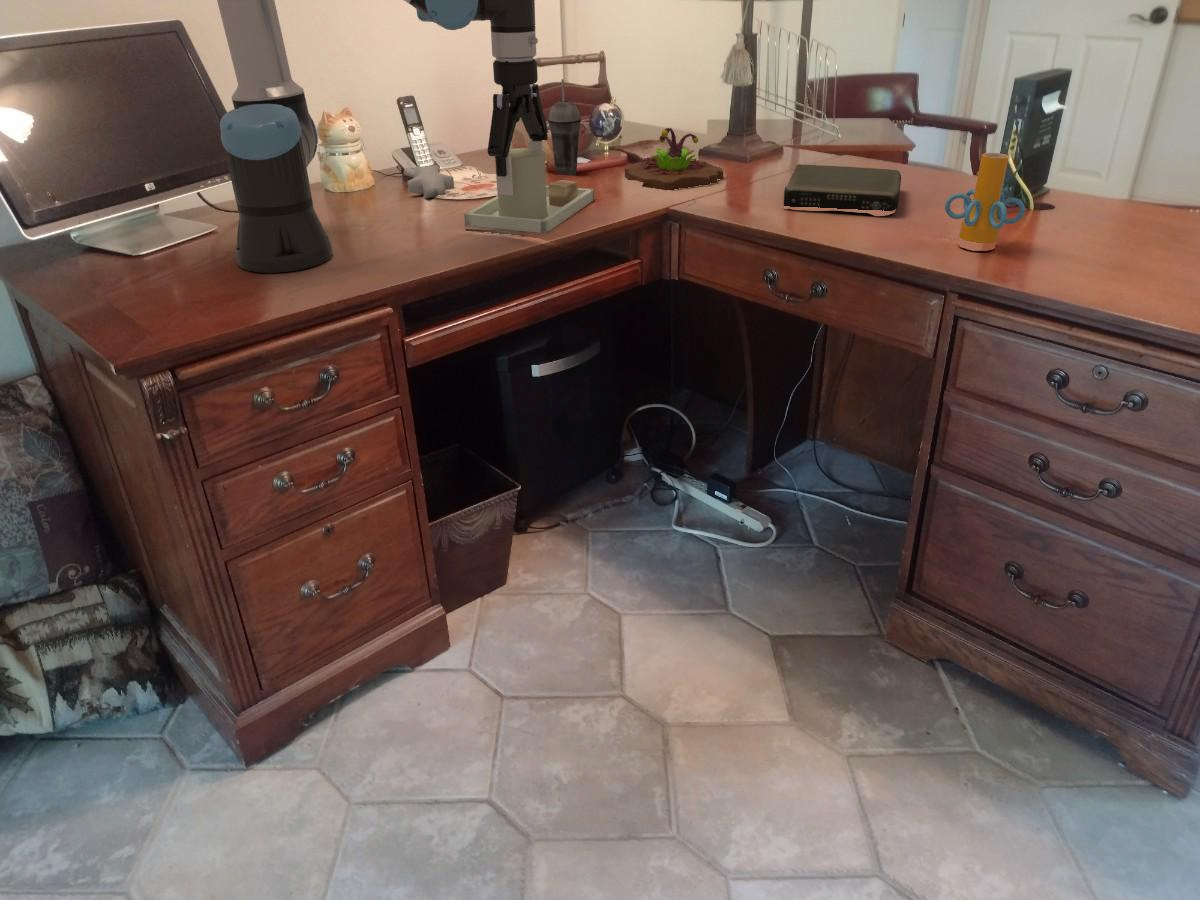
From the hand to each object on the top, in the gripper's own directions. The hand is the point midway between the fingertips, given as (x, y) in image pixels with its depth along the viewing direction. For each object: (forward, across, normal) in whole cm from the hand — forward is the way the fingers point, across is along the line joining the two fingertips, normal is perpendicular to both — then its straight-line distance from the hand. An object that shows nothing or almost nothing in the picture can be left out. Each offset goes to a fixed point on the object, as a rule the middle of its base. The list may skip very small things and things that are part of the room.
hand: (521, 185), depth 160 cm
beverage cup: (+7, +38, +7) cm, 39 cm away
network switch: (+7, +34, -54) cm, 64 cm away
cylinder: (+7, +10, -79) cm, 80 cm away
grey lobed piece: (+7, +15, +29) cm, 33 cm away
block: (+6, +11, -4) cm, 13 cm away
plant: (+7, +42, -16) cm, 45 cm away
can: (+6, 0, 0) cm, 6 cm away
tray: (+7, +4, 0) cm, 8 cm away
